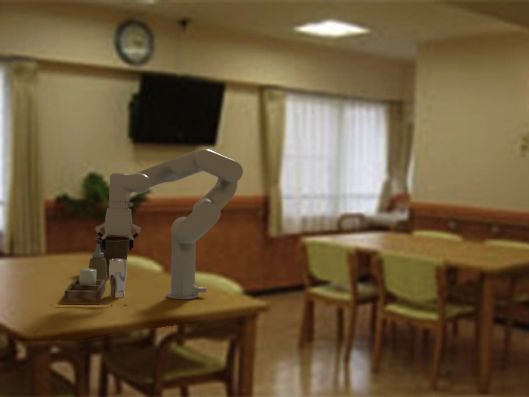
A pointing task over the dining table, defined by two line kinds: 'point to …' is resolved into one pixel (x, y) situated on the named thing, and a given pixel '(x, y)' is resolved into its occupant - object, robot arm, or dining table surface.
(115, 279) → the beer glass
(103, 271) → the squeeze bottle
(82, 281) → the grey rounded piece
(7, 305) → the dining table surface
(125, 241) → the plant pot
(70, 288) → the carrier
